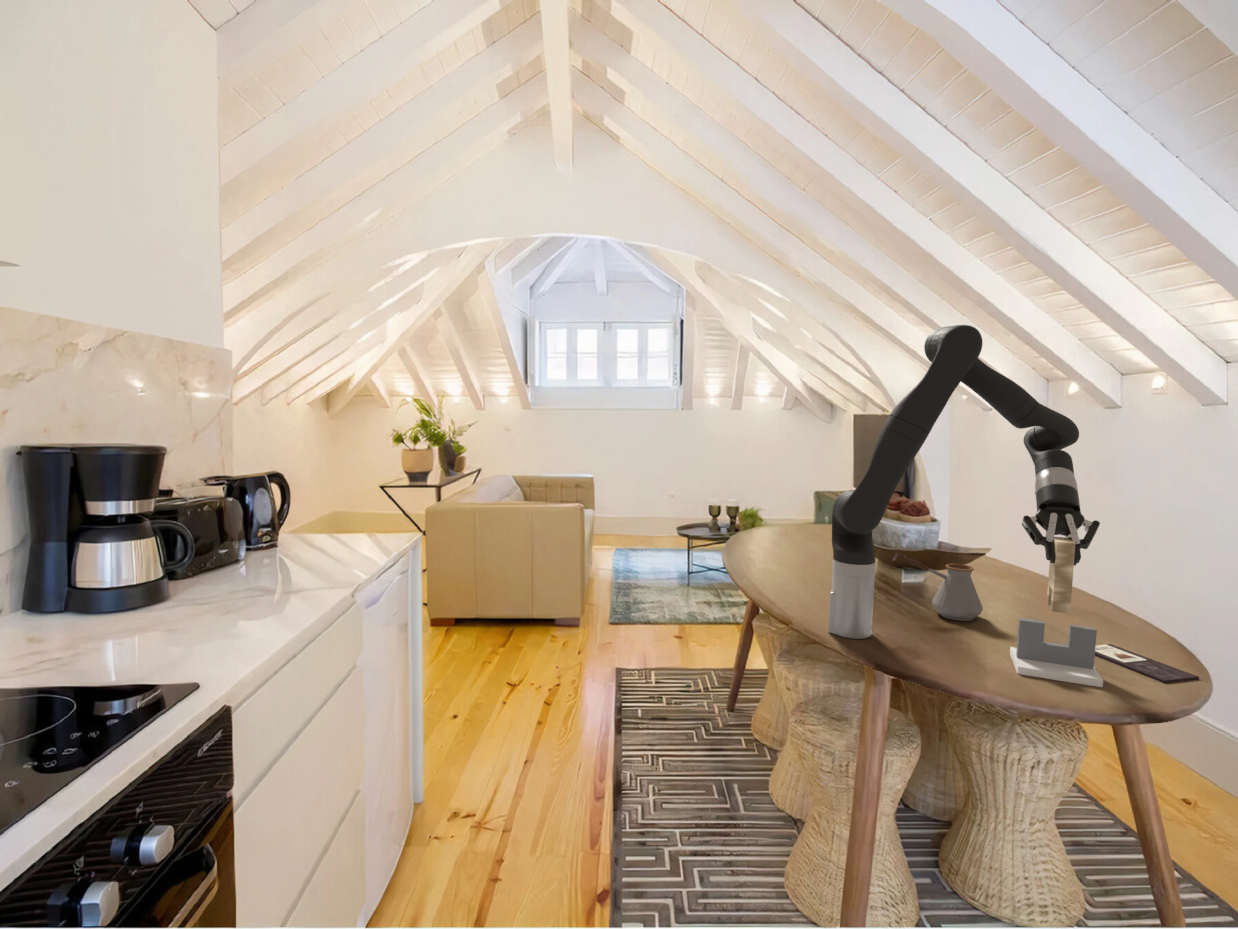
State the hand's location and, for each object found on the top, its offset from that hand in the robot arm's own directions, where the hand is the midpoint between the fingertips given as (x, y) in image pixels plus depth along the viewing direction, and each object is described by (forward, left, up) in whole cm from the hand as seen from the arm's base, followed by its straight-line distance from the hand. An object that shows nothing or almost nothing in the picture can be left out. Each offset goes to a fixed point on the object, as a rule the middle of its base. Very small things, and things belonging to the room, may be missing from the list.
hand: (1063, 561), depth 128 cm
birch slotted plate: (0, +2, -10) cm, 10 cm away
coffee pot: (-21, +31, -23) cm, 44 cm away
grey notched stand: (0, +2, -23) cm, 23 cm away
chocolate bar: (+16, +14, -23) cm, 32 cm away
